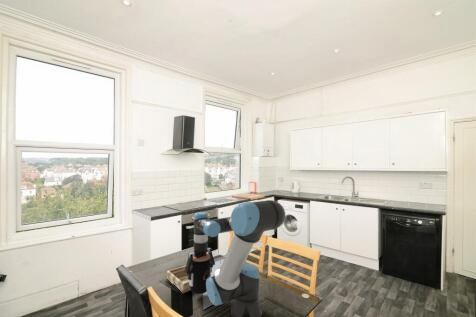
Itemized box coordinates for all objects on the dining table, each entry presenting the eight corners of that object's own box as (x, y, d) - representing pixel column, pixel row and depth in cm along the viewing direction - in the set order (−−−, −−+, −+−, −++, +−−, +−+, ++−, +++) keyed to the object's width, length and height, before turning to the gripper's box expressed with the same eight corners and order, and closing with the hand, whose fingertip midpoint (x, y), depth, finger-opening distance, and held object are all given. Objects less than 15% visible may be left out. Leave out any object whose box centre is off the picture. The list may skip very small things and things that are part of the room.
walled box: (206, 283, 141) (206, 275, 141) (182, 293, 131) (182, 284, 131) (189, 271, 156) (189, 263, 156) (166, 279, 146) (167, 271, 146)
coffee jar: (206, 295, 122) (206, 260, 122) (186, 293, 124) (187, 258, 124) (212, 285, 132) (212, 253, 133) (194, 283, 134) (195, 251, 135)
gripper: (213, 235, 139) (213, 273, 139) (178, 243, 124) (177, 286, 123) (221, 238, 134) (221, 277, 133) (185, 247, 118) (184, 292, 118)
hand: (200, 281), depth 128 cm, fingers closed on coffee jar, 11 cm apart
